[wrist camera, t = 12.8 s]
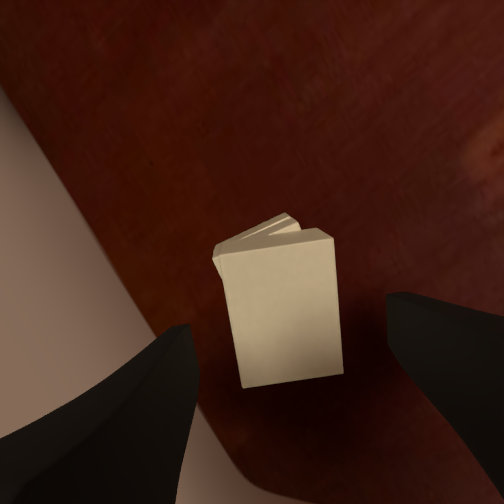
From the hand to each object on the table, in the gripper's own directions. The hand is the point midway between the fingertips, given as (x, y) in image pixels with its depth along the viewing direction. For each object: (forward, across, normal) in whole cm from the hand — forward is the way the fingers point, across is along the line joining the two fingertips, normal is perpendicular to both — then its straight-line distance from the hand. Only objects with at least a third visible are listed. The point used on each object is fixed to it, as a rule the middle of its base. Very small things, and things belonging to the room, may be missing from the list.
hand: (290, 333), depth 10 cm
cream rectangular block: (+4, 0, 0) cm, 4 cm away
